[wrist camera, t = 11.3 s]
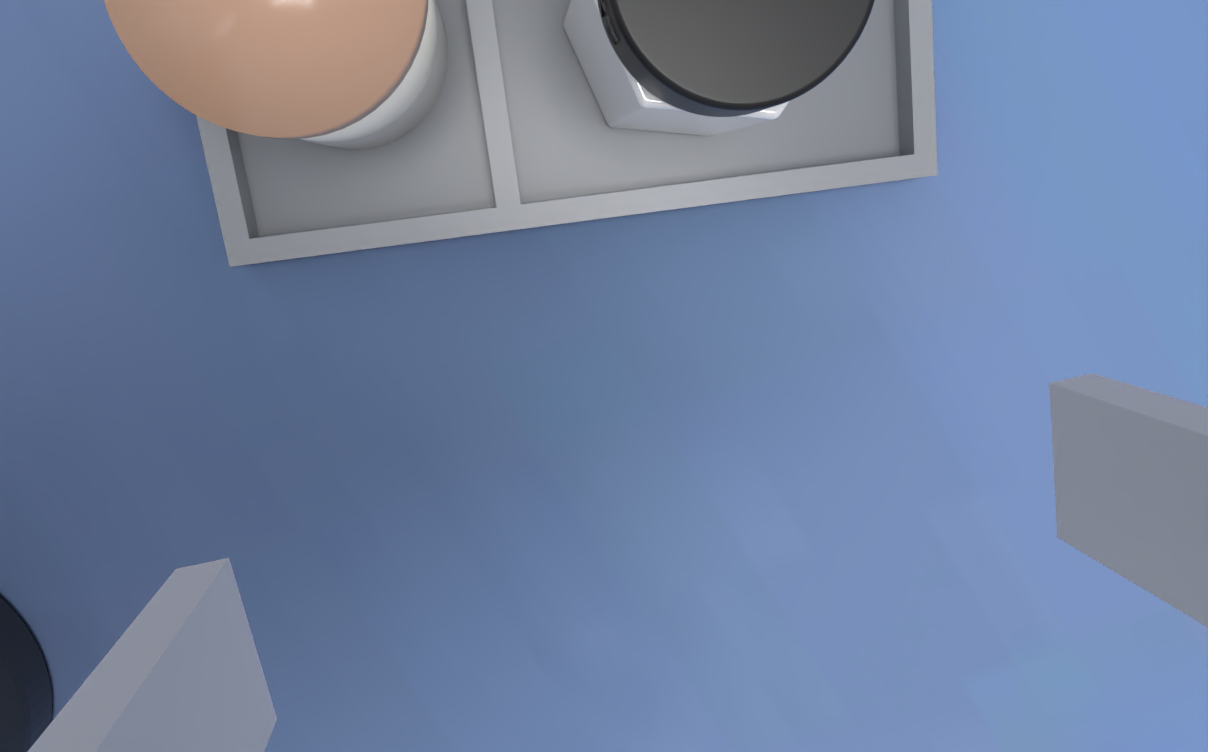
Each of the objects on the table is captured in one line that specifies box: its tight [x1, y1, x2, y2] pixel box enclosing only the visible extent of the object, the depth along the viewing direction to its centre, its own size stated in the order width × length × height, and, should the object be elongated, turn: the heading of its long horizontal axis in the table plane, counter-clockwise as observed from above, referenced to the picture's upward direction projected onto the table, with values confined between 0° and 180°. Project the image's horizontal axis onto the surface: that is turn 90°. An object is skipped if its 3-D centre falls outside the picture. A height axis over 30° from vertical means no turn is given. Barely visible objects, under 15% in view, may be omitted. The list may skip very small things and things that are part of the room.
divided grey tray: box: [196, 0, 937, 267], centre depth 34 cm, size 30×16×3 cm, turn 97°
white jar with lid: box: [104, 0, 448, 150], centre depth 29 cm, size 8×8×12 cm
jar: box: [563, 0, 875, 136], centre depth 30 cm, size 9×8×12 cm
